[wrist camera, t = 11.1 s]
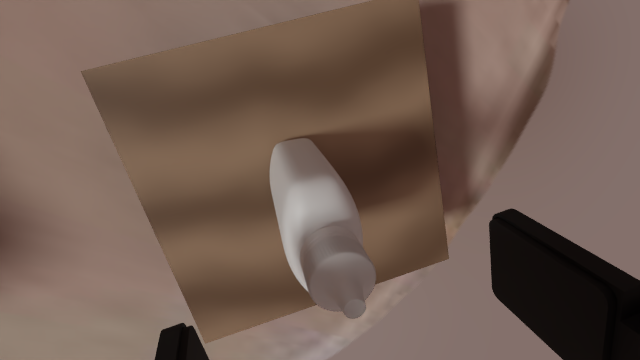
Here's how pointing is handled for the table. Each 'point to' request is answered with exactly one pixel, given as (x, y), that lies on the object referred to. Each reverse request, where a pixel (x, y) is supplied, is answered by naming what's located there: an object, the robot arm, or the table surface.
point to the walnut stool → (259, 141)
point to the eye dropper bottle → (320, 228)
